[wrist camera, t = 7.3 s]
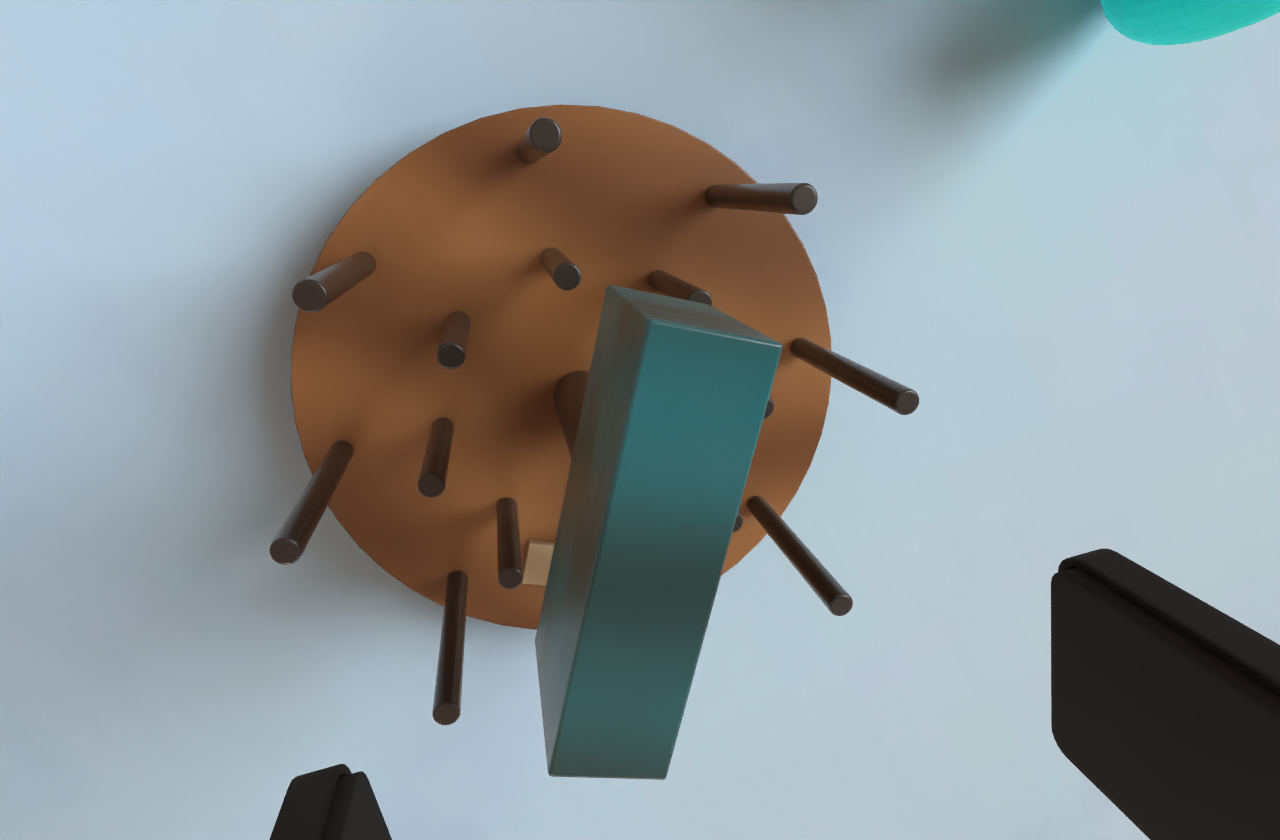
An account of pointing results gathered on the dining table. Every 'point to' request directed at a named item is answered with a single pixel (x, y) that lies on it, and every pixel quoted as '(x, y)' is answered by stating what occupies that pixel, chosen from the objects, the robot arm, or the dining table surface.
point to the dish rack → (569, 403)
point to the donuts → (1184, 18)
